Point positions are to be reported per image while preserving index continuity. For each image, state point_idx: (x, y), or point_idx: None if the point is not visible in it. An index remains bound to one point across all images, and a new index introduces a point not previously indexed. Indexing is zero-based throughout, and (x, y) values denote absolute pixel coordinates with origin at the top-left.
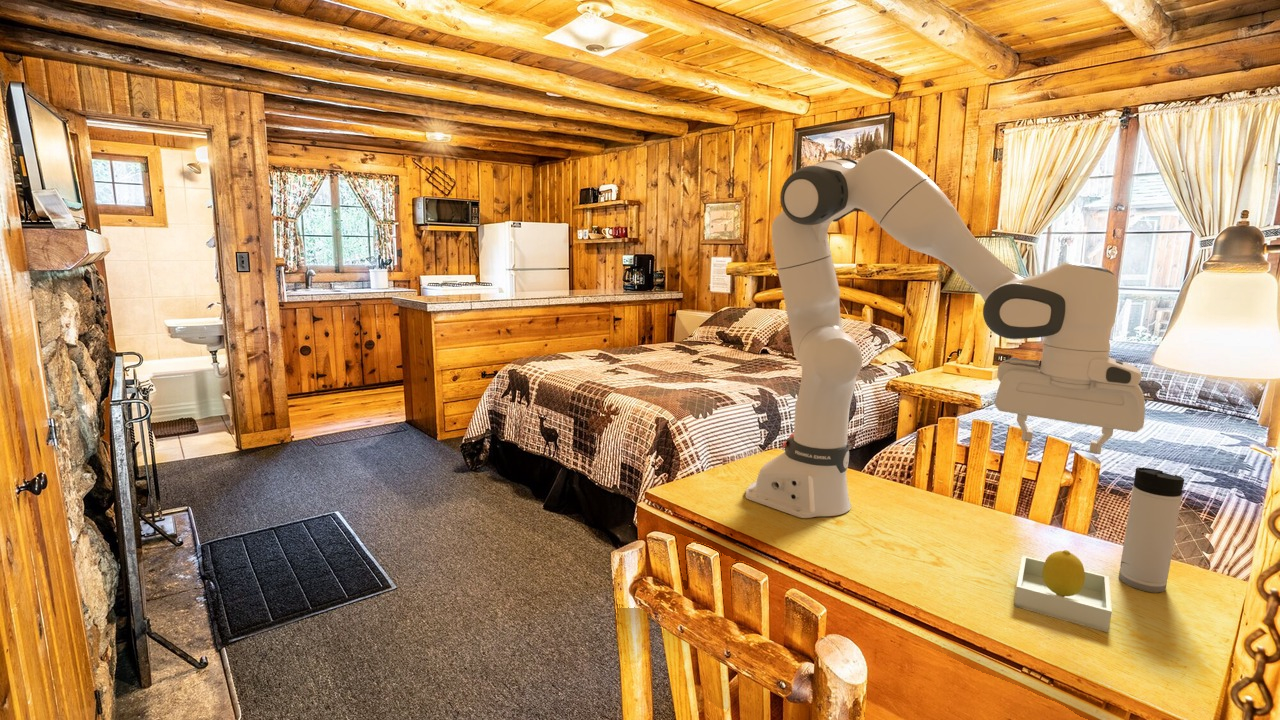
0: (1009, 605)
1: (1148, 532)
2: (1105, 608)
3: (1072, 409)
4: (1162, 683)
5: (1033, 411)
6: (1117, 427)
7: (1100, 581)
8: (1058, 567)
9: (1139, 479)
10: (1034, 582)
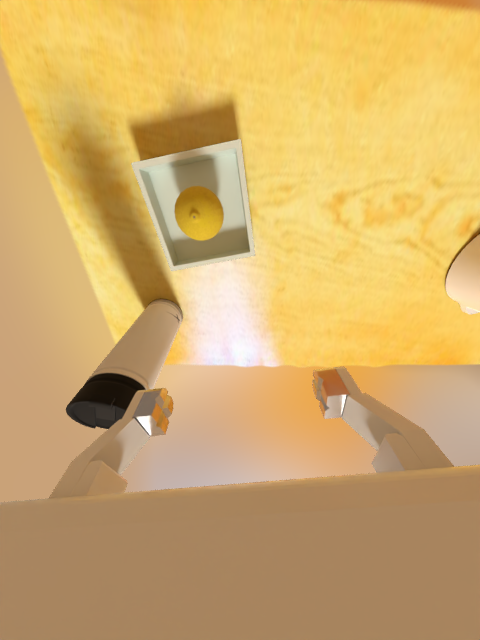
0: (244, 144)
1: (136, 333)
2: (139, 167)
3: (184, 624)
4: (50, 61)
5: (411, 513)
6: (3, 515)
7: (178, 263)
8: (198, 189)
9: (126, 393)
10: (234, 231)
